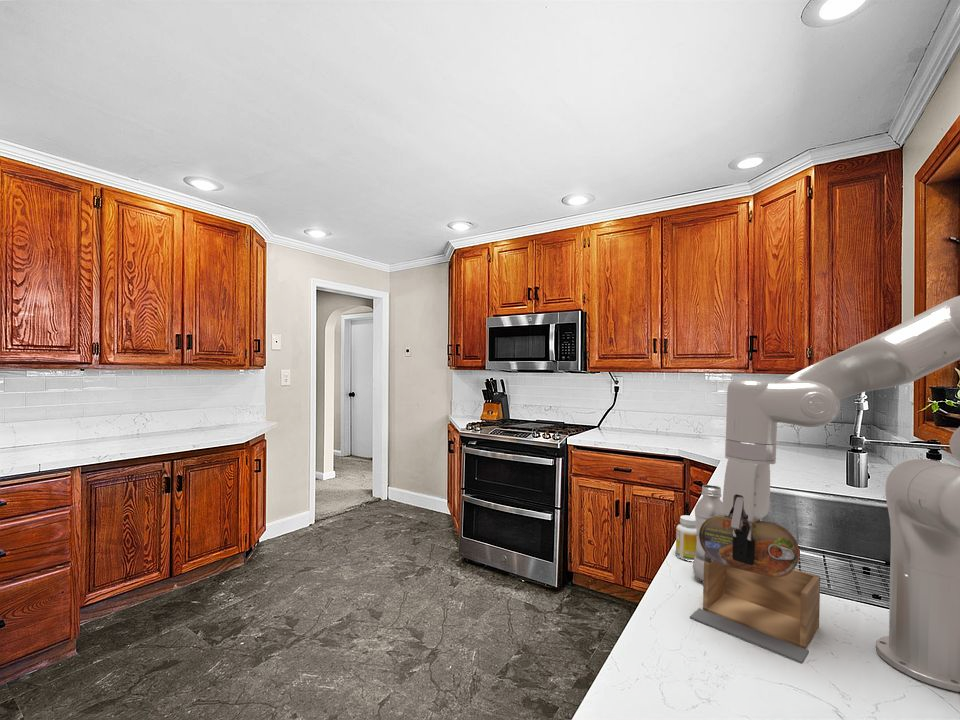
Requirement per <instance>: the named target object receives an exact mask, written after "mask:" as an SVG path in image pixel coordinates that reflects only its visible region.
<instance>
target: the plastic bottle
mask: <svg viewBox="0 0 960 720" xmlns="http://www.w3.org/2000/svg"><path fill="white" fill-rule="evenodd" d="M701 489H702V490H701V495H702V497H701V499H699V501H698V502H697V504H696V505H695V508H694V517H695V518H696V527H697V543H696V552H695V557H694V561H693V562H692V572H693V575H694V576H695V578H697V580H699V581H701V582H703V583H704V562H705V561H704V556H705V552H704V550H703V548H702V546H701V544H700V540H699V531H700V528H701V526H702V524H703V523H704V522H705V521H706V520H707V519H709V518H712V517H715V516H719V515H722V501H723V500H721V498H722V494H721V493H722V488H721V487H720V486H718V485H713V484H703V485H702V486H701Z"/></svg>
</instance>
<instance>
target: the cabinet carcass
mask: <svg viewBox="0 0 960 720" xmlns="http://www.w3.org/2000/svg"><path fill="white" fill-rule="evenodd" d="M704 561H705V562H704V582H703V586H702V588H703V595H702V610H705V611H708V612H710V613H713V614H715V615H718V616H721V617H723V618H726V619H728V620H731V621H734V622H736V623H739V624H741V625H744V626H746V627H749V628H752V629H754V630H757V631H759V632H762V633H765V634H767V635H770V636H772V637H775V638H778V639H780V640H783V641H785V642H788V643H791V644H793V645H796V646H798V647H801V648H804V649H806V650H808V649H807V648H808V647H809V645H810V643H811V642H812V640H813V638H814V637H815V636H816V634H817V632H818V631H819V628H820V605H821V603H820V602H821V576H820V575H817V574H813V573H809V572H806V571H802V570H799V569H795V568H794V570H793V571H792V572H791V573H790V574H788V575H786V576H783V577H770V576H766V575H761V574H757V573H753V572H749V571H745V570H740V569H736V568H731V567H727V566H723V565H720V564H718V563H716V562H715V561H713V560H712V559H711V558H710V557H709V556H708V555H707V554H706V553H705V556H704Z"/></svg>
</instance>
